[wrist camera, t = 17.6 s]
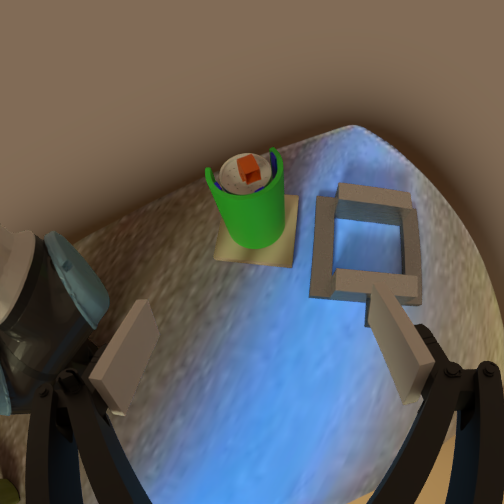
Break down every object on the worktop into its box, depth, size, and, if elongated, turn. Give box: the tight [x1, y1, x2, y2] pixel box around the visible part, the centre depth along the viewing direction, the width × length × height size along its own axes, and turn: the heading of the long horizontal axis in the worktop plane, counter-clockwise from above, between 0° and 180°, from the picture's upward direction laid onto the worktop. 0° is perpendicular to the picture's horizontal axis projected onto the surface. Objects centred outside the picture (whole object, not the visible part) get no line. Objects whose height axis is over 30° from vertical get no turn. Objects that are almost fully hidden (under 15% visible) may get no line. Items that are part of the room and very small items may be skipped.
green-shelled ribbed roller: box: [205, 147, 285, 249], centre depth 37 cm, size 9×8×18 cm
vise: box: [309, 183, 422, 328], centre depth 40 cm, size 18×21×6 cm
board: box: [213, 194, 299, 268], centre depth 46 cm, size 12×12×2 cm
